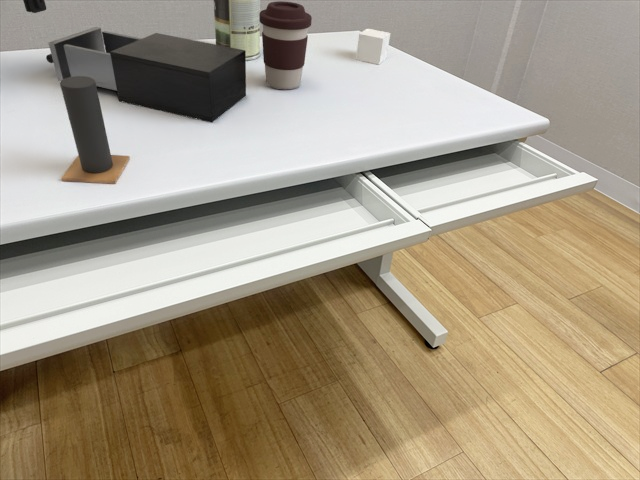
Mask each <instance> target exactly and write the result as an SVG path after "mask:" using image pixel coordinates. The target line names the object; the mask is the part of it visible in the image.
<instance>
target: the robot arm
mask: <svg viewBox="0 0 640 480" xmlns="http://www.w3.org/2000/svg"><path fill="white" fill-rule="evenodd" d="M23 3H24V4H23V5H24V8H25V10H26V12H27V13H32V14H37V13H41V12H44V11H46V10H47V5H46V2H45V0H23Z"/></svg>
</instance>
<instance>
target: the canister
mask: <svg viewBox="0 0 640 480" xmlns="http://www.w3.org/2000/svg"><path fill="white" fill-rule="evenodd" d="M59 85H60V89H61V93H62V97H63V101H64V104H65V108H66V112H67V116H68V120H69V124H70V128H71V133H72V135H73V139H74V142H75V146H76V151H77V156H78V155H79V159H80V163H81V167H82V169H83V170H84V171H85V172H87V173H102V172H105V171H108V170H109V169H111V168H112V166H113V163H112V158H111V155H112V154H111V149H110V144H109V140H108V135H107V134H108V133H107V130H106V126H105V120H104V117H103V112H102V107H101V102H100V98H99V91H98V88H97V87H98V86H96V82H95V80H94V79H93V78H90V77H85V76H74V77H69V78H65V79H63V80H62V81H59Z"/></svg>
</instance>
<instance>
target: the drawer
mask: <svg viewBox="0 0 640 480" xmlns="http://www.w3.org/2000/svg"><path fill="white" fill-rule="evenodd" d="M142 38H143V37H137V36H132V35H127V34H122V33H117V32H112V31H107V30H103V31H102V27H98V26H93V27H91V28H88V29H85V30H82V31H79V32H76V33H73V34H70V35H67V36H64V37H61V38H59V39H55V40H52V41H49V42H48V46H49V51H50V53H49V54H47V55H46V56H45V59H46V62H47V63H49V64H53V66H54V70H55V73H56V77H57V81H58V82H61V81H62V80H63V79H65V78H69V77H74V76H85V77H90V78H93V79H94V80H95V82H96V87H98V88H103V89H108V90H111V91H116V92H117V88H116V82H115V77H114V72H113V66H112V61H111V56H110V52H111V51H113V50H116V49H118V48H120V47H123V46H125V45H128V44H130V43H133V42H135V41H138V40H140V39H142Z"/></svg>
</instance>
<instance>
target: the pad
mask: <svg viewBox="0 0 640 480" xmlns="http://www.w3.org/2000/svg"><path fill="white" fill-rule="evenodd" d="M111 158H112V163H113V166H112V168H111V169H109V170H108V171H105V172H102V173H87V172H85V171H84V170H83V169H82V167H81V163H80V159H79V155H78V154H77V157H76V158H75V159H74V160H73V162H72V163H71V164H70V165H69V166H68V168H67V170H66V171H65V172H64V174H63V175H62V176H61V177H60V179H61V181H62V182H74V183H75V182H76V183H92V184H110V185H116V183H117V182H118V180H119V178H120V176H121V175H122V173H123V172H124V170H125V169H126V167H127V165H128V163H129V161H130V160H131V159H130V158H131V157H130V155H124V154H123V155H121V154H120V155H119V154H111Z"/></svg>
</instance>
